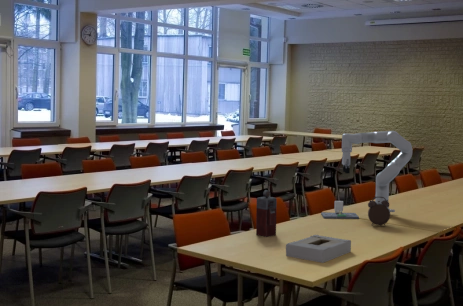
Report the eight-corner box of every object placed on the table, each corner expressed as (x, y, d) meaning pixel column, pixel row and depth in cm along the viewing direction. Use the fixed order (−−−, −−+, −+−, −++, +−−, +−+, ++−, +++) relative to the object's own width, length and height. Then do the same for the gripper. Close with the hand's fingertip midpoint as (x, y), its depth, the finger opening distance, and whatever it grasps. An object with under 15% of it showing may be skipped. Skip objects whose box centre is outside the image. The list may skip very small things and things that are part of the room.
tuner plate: (354, 214, 457) (355, 211, 457) (358, 218, 441) (358, 215, 441) (321, 214, 458) (321, 210, 458) (323, 218, 442) (323, 214, 442)
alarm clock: (388, 225, 419) (389, 196, 418) (390, 227, 412) (391, 197, 410) (366, 224, 421) (367, 195, 419) (368, 226, 413) (368, 197, 412)
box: (314, 246, 357) (285, 256, 332) (315, 233, 357) (285, 242, 331) (351, 253, 343) (323, 264, 318) (351, 239, 343) (324, 249, 317)
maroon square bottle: (269, 237, 377) (269, 192, 375) (255, 234, 385) (256, 190, 383) (278, 235, 383) (279, 190, 381) (265, 232, 391) (266, 188, 389)
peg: (334, 212, 457) (334, 200, 456) (342, 212, 457) (342, 200, 456) (336, 215, 444) (336, 203, 443) (344, 215, 444) (345, 203, 443)
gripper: (340, 149, 472) (339, 171, 474) (343, 150, 455) (343, 173, 456) (349, 149, 472) (349, 171, 474) (353, 150, 455) (353, 174, 456)
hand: (346, 172), depth 465 cm, fingers open, 9 cm apart
